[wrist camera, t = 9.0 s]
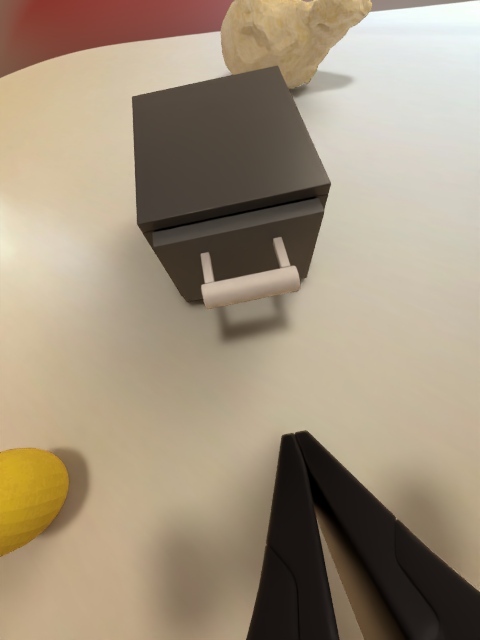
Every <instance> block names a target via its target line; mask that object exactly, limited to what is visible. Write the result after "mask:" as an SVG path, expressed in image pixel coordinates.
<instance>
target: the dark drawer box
mask: <svg viewBox="0 0 480 640" xmlns="http://www.w3.org/2000/svg"><path fill="white" fill-rule="evenodd" d="M132 107H133V132H134V157H135V182H136V207H137V225H138V226H139V228H140V229H141V231H142V232H143V234H144V236H145V238H146V239H147V241H148V242H149V244H150V246H151V247H152V249H153V250H154V252H155V254H156V255H157V257H158V258H159V260H160V262H161V263H162V265H163V266H164V268H165V270H166V271H167V273H168V274H169V276H170V278H171V279H172V281H173V282H174V284H175V286H176V287H177V289H178V290H179V288H178V286H177V285H176V283H175V281H174V280H173V278H172V277H171V275H170V273H169V272H168V270H167V268H166V267H165V265H164V264H163V262H162V260H161V259H160V257H159V255H158V254H157V252H156V251H155V249H154V247H153V234H152V233H153V232H158V231H163V230H168V227H171V226H176V225H181V224H186V223H191V222H195V221H200V220H205V219H210V218H214V217H219V216H224V215H229V214H234V213H238V212H243V211H248V210H253V209H257V208H262V207H267V206H272V205H276V204H281V203H286V202H291V201H296V200H300V202H301V201H306V200H311V199H316V198H319V199H320V202H321V204H322V207H323V209H324V208H325V205H326V201H327V197H328V193H329V189H330V186H331V182H330V180H329V178H328V176H327V173H326V171H325V169H324V167H323V164H322V162H321V160H320V158H319V156H318V153H317V151H316V149H315V147H314V144H313V142H312V140H311V138H310V136H309V133H308V131H307V129H306V127H305V124H304V122H303V120H302V118H301V115H300V113H299V111H298V109H297V107H296V104H295V102H294V100H293V98H292V95H291V93H290V91H289V89H288V87H287V84H286V82H285V80H284V78H283V75H282V73H281V71H280V69H279V66H273V67H268V68H263V69H259V70H254V71H249V72H245V73H240V74H235V75H231V76H226V77H221V78H217V79H212V80H207V81H203V82H198V83H193V84H189V85H184V86H179V87H175V88H170V89H166V90H161V91H156V92H152V93H147V94H142V95H138V96H133V97H132ZM179 292H180V294H181V295H182V296H183V294H182V293H181V291H180V290H179Z"/></svg>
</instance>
